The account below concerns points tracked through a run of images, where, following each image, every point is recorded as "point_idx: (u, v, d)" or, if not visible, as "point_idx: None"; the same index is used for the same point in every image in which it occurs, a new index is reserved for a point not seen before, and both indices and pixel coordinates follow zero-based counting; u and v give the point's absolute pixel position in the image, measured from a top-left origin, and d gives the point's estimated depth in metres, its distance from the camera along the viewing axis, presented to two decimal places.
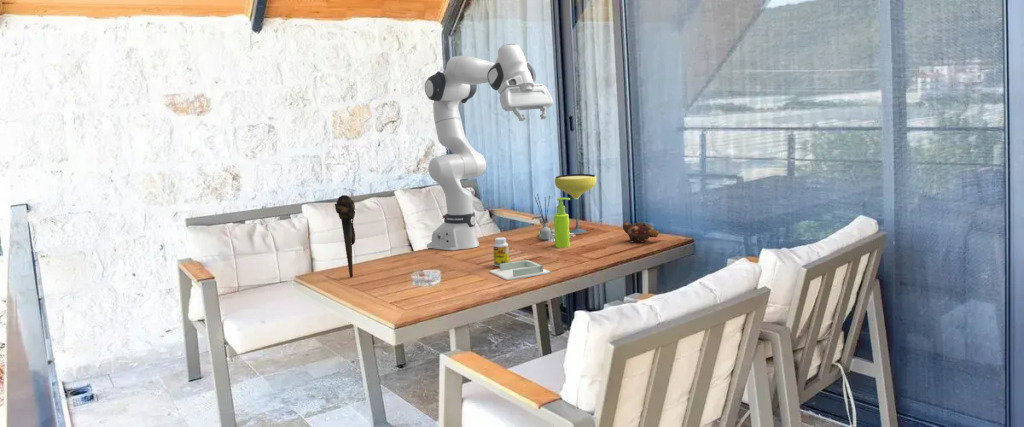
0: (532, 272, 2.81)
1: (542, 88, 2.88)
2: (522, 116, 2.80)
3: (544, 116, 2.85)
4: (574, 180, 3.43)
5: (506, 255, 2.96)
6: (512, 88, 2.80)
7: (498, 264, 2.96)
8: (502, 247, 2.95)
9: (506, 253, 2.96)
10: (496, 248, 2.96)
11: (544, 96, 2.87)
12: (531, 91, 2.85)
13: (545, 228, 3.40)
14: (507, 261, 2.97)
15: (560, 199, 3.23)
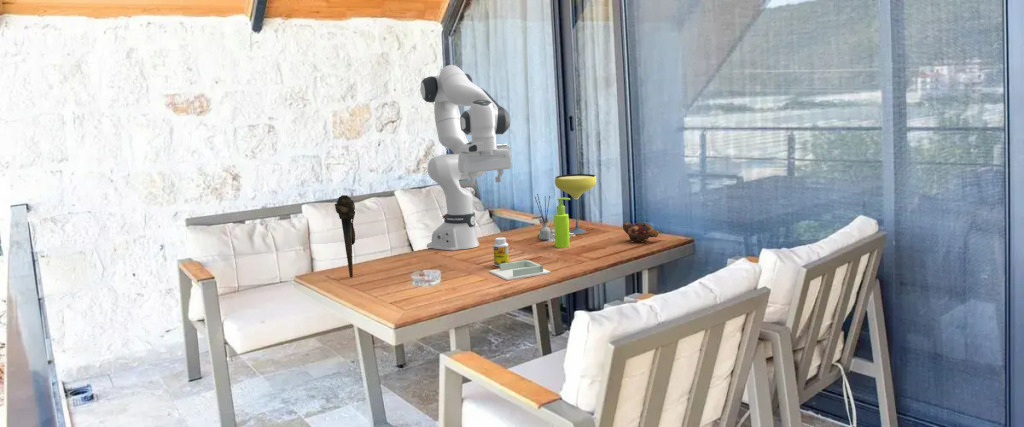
0: (532, 272, 2.81)
1: (504, 151, 2.92)
2: (475, 182, 2.90)
3: (498, 181, 2.94)
4: (574, 180, 3.43)
5: (506, 255, 2.96)
6: (471, 154, 2.86)
7: (498, 264, 2.96)
8: (502, 247, 2.95)
9: (506, 253, 2.96)
10: (496, 248, 2.96)
11: (504, 160, 2.92)
12: (491, 155, 2.90)
13: (545, 228, 3.40)
14: (507, 261, 2.97)
15: (560, 199, 3.23)
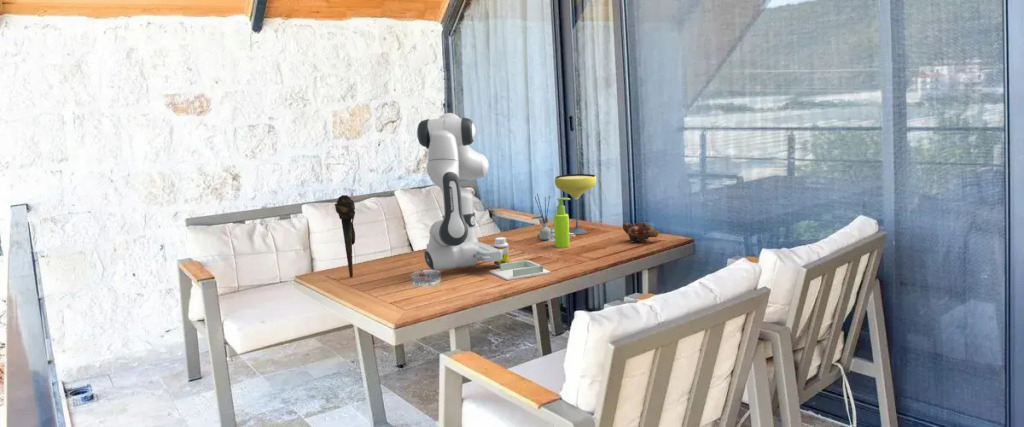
0: (532, 272, 2.81)
1: None
2: None
3: None
4: (574, 180, 3.43)
5: (506, 255, 2.96)
6: None
7: (498, 264, 2.96)
8: (502, 247, 2.95)
9: None
10: None
11: None
12: None
13: (545, 228, 3.40)
14: (507, 261, 2.97)
15: (560, 199, 3.23)
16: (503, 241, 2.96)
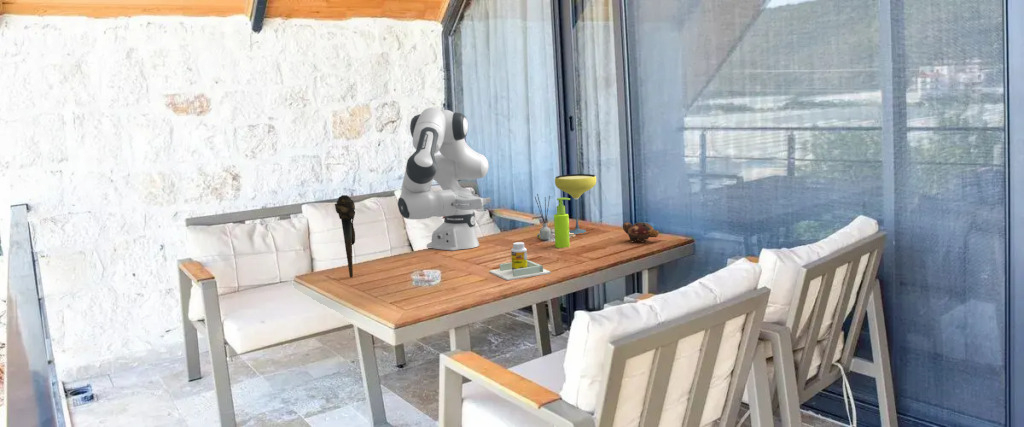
0: (532, 272, 2.81)
1: None
2: None
3: None
4: (574, 180, 3.43)
5: (524, 261, 2.82)
6: None
7: None
8: (521, 252, 2.81)
9: (524, 259, 2.82)
10: (514, 253, 2.82)
11: None
12: None
13: (545, 228, 3.40)
14: (525, 267, 2.83)
15: (560, 199, 3.23)
16: (521, 246, 2.82)
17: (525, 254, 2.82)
